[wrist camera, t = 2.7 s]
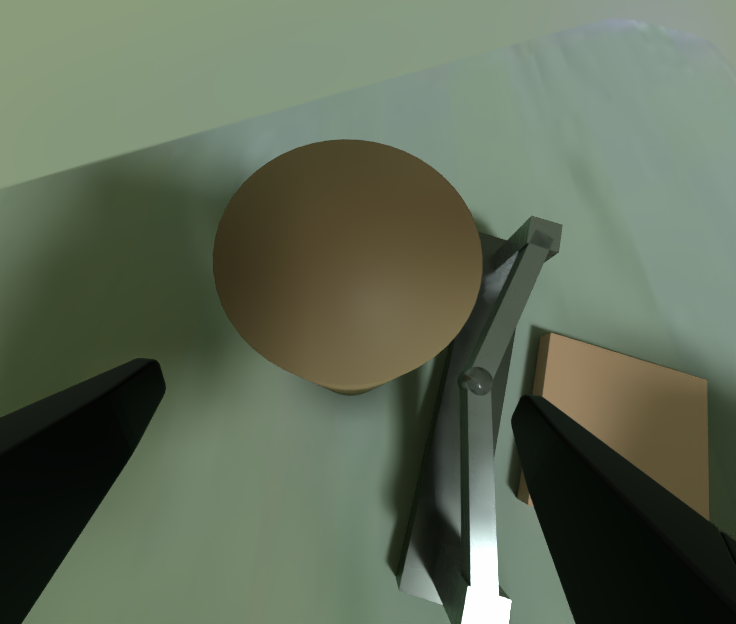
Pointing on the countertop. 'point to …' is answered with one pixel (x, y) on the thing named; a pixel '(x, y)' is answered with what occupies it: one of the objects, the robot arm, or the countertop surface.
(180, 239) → the countertop surface
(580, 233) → the countertop surface
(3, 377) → the countertop surface
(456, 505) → the gray metal frame
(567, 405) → the terracotta tile
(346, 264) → the tan wooden cylinder
